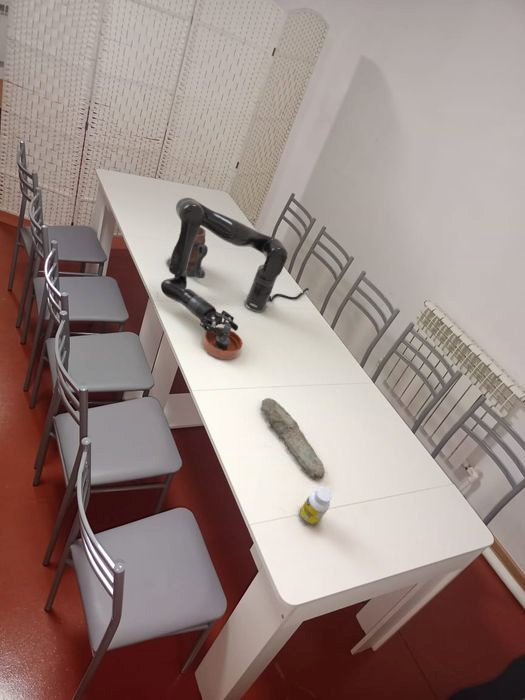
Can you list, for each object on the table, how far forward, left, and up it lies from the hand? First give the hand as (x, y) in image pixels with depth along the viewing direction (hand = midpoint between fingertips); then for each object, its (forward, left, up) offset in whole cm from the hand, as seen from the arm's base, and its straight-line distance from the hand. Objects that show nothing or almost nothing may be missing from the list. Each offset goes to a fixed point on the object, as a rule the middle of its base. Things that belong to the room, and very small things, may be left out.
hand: (230, 332), depth 188 cm
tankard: (-27, -50, -9) cm, 57 cm away
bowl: (0, -2, -9) cm, 9 cm away
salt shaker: (0, -2, -9) cm, 9 cm away
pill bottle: (+33, +68, -9) cm, 76 cm away
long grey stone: (+14, +46, -9) cm, 49 cm away
